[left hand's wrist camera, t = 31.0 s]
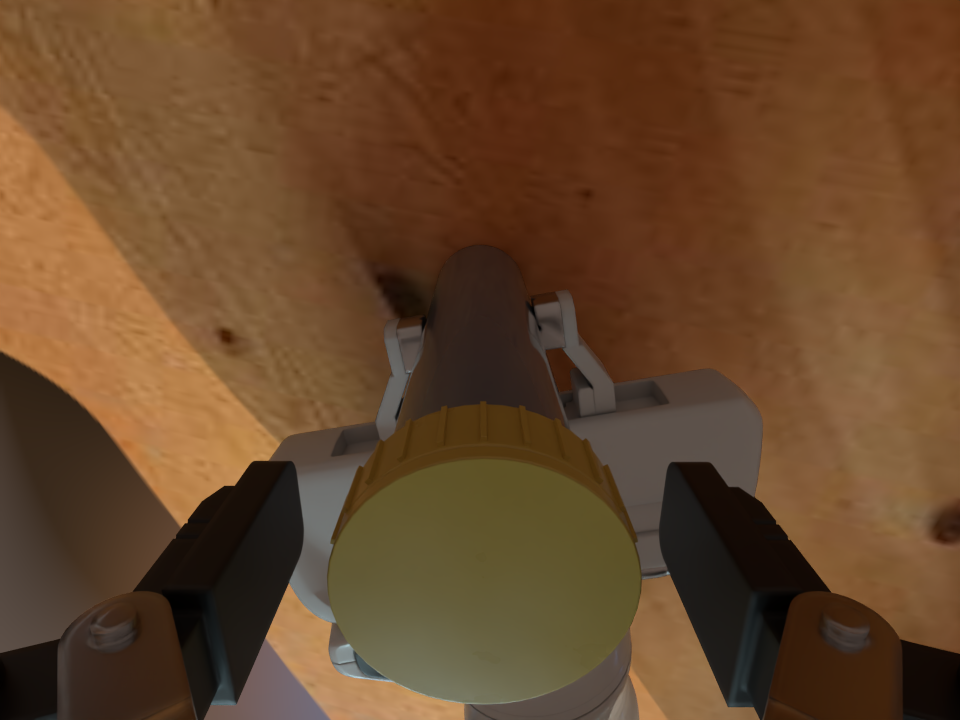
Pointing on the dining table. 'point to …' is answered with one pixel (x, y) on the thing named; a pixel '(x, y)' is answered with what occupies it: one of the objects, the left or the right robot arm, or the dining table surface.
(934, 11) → the dining table surface
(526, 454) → the lid
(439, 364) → the grey canister
